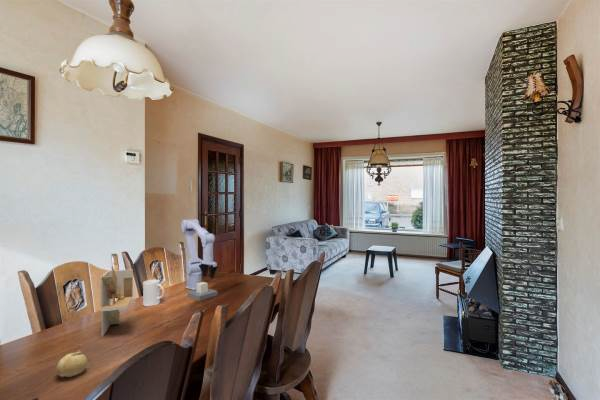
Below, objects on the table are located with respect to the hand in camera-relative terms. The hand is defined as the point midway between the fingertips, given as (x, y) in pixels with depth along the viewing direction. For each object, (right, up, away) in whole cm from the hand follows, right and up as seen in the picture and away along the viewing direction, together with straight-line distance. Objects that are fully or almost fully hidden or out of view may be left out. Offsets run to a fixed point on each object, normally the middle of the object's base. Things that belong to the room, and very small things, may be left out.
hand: (208, 277), depth 183 cm
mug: (-24, -10, -18) cm, 31 cm away
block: (-2, -7, -5) cm, 9 cm away
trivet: (-2, -10, -4) cm, 11 cm away
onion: (-18, -10, -85) cm, 87 cm away
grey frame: (-24, -11, -50) cm, 56 cm away
